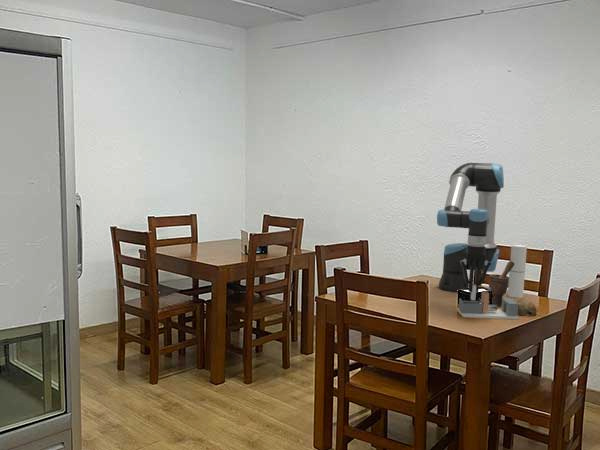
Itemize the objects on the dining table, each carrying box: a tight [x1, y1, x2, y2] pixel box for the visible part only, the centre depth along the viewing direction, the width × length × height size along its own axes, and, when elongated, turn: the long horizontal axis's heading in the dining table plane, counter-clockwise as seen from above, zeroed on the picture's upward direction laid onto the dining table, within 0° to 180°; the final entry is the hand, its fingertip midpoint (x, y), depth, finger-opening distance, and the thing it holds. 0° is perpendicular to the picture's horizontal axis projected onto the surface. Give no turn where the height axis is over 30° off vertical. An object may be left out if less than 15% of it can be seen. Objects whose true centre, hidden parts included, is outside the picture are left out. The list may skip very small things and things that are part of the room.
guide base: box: [456, 297, 519, 320], centre depth 264 cm, size 12×23×6 cm, turn 88°
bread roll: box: [516, 299, 538, 317], centre depth 269 cm, size 10×10×8 cm
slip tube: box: [480, 290, 498, 313], centre depth 264 cm, size 4×14×9 cm, turn 88°
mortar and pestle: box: [488, 260, 514, 306], centre depth 285 cm, size 12×9×20 cm
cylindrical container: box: [507, 244, 528, 299], centre depth 301 cm, size 7×7×25 cm
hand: (472, 299), depth 264 cm, fingers closed
